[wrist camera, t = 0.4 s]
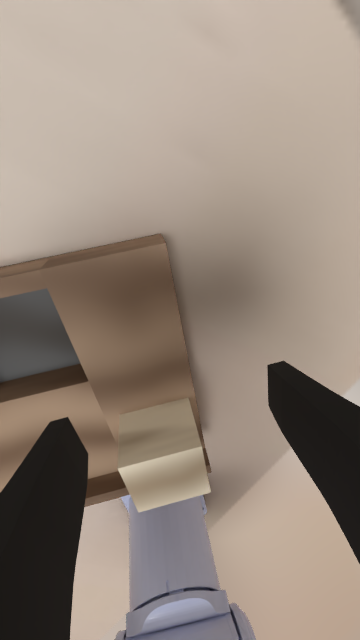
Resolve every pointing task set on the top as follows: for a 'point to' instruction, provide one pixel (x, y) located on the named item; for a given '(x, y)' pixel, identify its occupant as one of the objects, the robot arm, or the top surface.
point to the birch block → (161, 455)
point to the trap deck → (89, 351)
